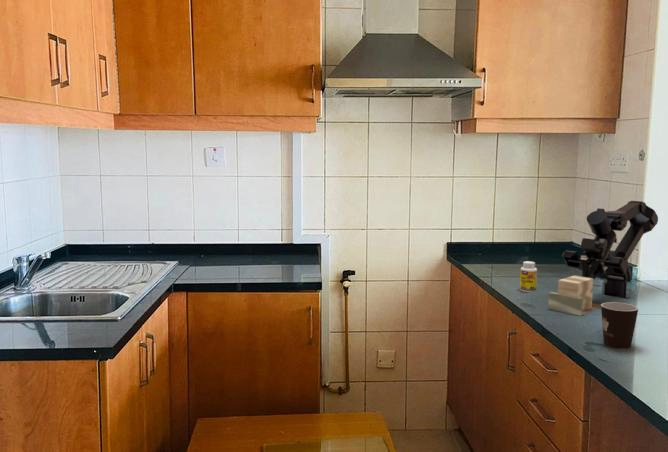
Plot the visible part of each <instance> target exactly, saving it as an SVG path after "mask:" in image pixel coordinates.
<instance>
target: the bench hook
mask: <svg viewBox="0 0 668 452" xmlns="http://www.w3.org/2000/svg"><path fill="white" fill-rule="evenodd" d="M547 308H548V310H551V311H556V312H560V313H565V314H569V315H574V316H578V317H579V316H580V317H581V316H583V315H586V314H588V313H592V312H593V311H594V312H595V310H599V309H601V304H600V303H593V302H592V307H591V308H589V309H586V310H584V311H583V298H580V297H575V296H570V295H565V294H559V293H558V292H555V291H554V292H553V291H550V292H548V307H547Z"/></svg>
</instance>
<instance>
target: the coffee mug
mask: <svg viewBox="0 0 668 452" xmlns="http://www.w3.org/2000/svg"><path fill="white" fill-rule="evenodd" d="M600 305H601V308H600V311H601V323H602V340H603V345H604V346H607V347H610V348H612V349H613V348H614V349H620V350H621V349H623V350H624V349H629V348H631V347H632V342H633V338H634V334H635V330H636V329H635V328H636V323H637V318H638V314H639V307H638V306H636V305H634V304H629V303H625V302H615V301H610V302H603V303H601V304H600Z"/></svg>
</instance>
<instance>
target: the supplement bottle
mask: <svg viewBox="0 0 668 452" xmlns="http://www.w3.org/2000/svg"><path fill="white" fill-rule="evenodd" d="M537 279H538V268H537V267H536V262H534V261H528V260H526V261H523V263H522V267H520V275H519V290H520V291H521V292H524V293H531V292H535V291H537V283H538V280H537Z"/></svg>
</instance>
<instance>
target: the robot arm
mask: <svg viewBox="0 0 668 452" xmlns="http://www.w3.org/2000/svg"><path fill="white" fill-rule="evenodd" d="M586 222H587V224H588V226H589V229H590V230H591V232H592V234H593V235H595V236H594V238H586V237H583V238H582V240H581V243H580V247H579V248H580V249H582V250H583V255H579V253H578V251H573V250H564V251H563V253H562V255H561V257H562V259H563V262H564V263H565V265H566V267H568V268H574V269H578V268H579V267H580V268H581V271H582V273H581V275H582V276H581V277H588V278H593V280H595V279H597V278H598V277H599V278H600V279H604V280H603V282H602V286H601V287H602V288H601V295H603V296H608V297H609V296H610V297H614V298H615V297H616V298H620V299H626V300H628V297H627V287H628V286H627V283H629V282H630V283H631V282H632V279H633V272H632V270H631V268H630V264H629V259H630V257H631V255H632V254H633V252H634V251H635V249H636V247H637V245H638V244H639V242H640V240H641V238H643V236H644V234H647V233H649V232H651V231H653V229H654V228H655V227H656V225H657V224H658V222H659V216H658V214H657V213H656V211H655V210H654V208H652V207H649V206H648V205H647V203H646V202H645V201H642V200H641V201H640V200H639V201H638V200H630V201H627V203H626V204H624V205H623V206H621V207H620V208H617V209H616V210H607V211H605V208H597V209H596V210H595V211H592V212H590V213H589V214H588V215H587V216H586ZM628 222H629V228H628V229H627V231H626V232H625V234H624V236H623V237H622V238H621V240H620V241H619V243H618V245H617V246H616V248H615V250H611V249H612V247H613V245H614V243H615V244H616V243H617V242H618V238H617V234H616V231H617V232H622V231H623V230H624V229H625V228H626V227H627V226H628V225H627V224H628Z"/></svg>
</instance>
